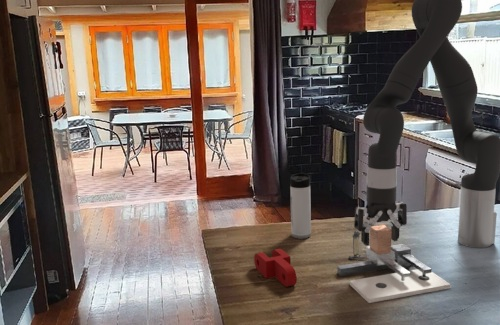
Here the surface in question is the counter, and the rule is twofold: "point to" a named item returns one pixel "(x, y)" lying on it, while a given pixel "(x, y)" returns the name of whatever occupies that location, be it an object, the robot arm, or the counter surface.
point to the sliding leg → (383, 250)
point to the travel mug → (300, 206)
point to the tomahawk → (356, 247)
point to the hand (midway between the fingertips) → (380, 242)
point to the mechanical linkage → (276, 267)
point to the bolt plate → (397, 285)
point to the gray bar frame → (401, 258)
